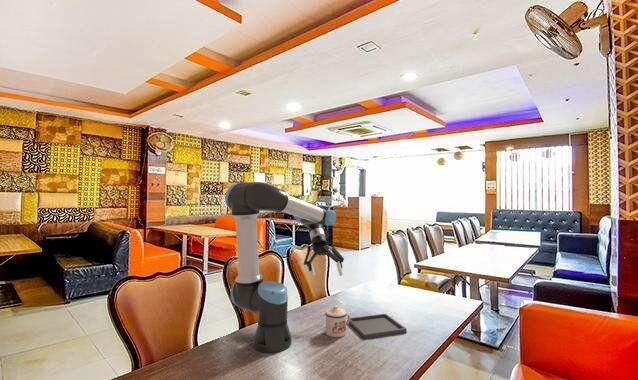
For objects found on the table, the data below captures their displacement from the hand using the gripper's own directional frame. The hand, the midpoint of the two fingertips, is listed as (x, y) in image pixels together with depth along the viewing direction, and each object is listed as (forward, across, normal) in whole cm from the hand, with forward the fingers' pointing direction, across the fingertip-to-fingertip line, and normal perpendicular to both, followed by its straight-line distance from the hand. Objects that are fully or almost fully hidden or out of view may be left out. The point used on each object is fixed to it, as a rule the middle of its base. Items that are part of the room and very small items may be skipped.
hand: (327, 275), depth 148 cm
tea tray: (+24, -19, -7) cm, 31 cm away
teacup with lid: (+24, -1, -7) cm, 25 cm away
